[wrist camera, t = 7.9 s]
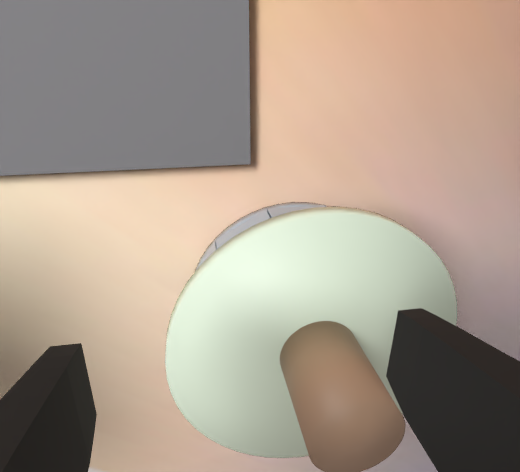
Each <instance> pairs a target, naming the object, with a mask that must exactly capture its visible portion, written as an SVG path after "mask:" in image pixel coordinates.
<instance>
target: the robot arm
mask: <svg viewBox="0 0 520 472" xmlns="http://www.w3.org/2000/svg"><path fill="white" fill-rule="evenodd" d="M386 377H387V379H388V382H389V384H390V386H391V388H392V391H393V393H394V395H395V398H396V400H397V402H398V404H399V406H400V408H401V410H402V412H403V415H404V416H405V418H406V420H407V422H408V423H409V425H410V427H411V428H412V430H413V432H414V433H415V435H416V436H417V438H418V440H419V441H420V443H421V445H422V446H423V448H424V450H425V451H426V453H427V454H428V456H429V458H430V459H431V461H432V463H433V464H434V466H435V467H436V469H437V471H438V472H520V362H519V361H518V360H516V359H514V358H512V357H510V356H508V355H507V354H505V353H503V352H501V351H499V350H498V349H496V348H494V347H492V346H490V345H489V344H487V343H485V342H483V341H482V340H480V339H478V338H476V337H474V336H473V335H471V334H469V333H467V332H466V331H464V330H462V329H460V328H459V327H457V326H455V325H453V324H451V323H450V322H448V321H446V320H444V319H442V318H440V317H438V316H437V315H435V314H433V313H431V312H429V311H427V310H424V309H422V308H418V309H408V310H398V314H397V320H396V325H395V330H394V336H393V341H392V347H391V352H390V357H389V363H388V368H387V374H386ZM95 422H96V410H95V405H94V401H93V396H92V391H91V387H90V382H89V377H88V373H87V368H86V364H85V359H84V354H83V350H82V345H81V343H80V344H71V345H61V346H51V347H49V349H48V350H47V351H46V352H45V353H44V354H43V355H42V356H41V357H40V358H39V359H38V360H37V361H36V362H35V363H34V364H33V365H32V366H31V367H30V368H29V370H28V371H27V372H26V373H25V374H24V375H23V376H22V377H21V378H20V379H19V380H18V381H17V383H16V384H15V385H14V386H13V387H12V388H11V389H10V390H9V391H8V392H7V393H6V394H5V395H4V396H3V398H2V399H1V400H0V472H88V468H89V464H90V458H91V451H92V445H93V438H94V430H95Z"/></svg>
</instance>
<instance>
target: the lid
mask: <svg viewBox="0 0 520 472" xmlns="http://www.w3.org/2000/svg"><path fill="white" fill-rule="evenodd" d="M418 308H422V309H424V310H427V311H429V312H431V313H433V314H435V315H437V316H438V317H440V318H442V319H444V320H446V321H448V322H450V323H451V324H453V325H455V326H456V322H457V300H456V295H455V290H454V286H453V283H452V280H451V278H450V275H449V272H448V271H447V269H446V267H445V266H444V264H443V262H442V261H441V259H440V258H439V257H438V256H437V254H436V253H435V252H434V251H433V250H432V249H431V247H429V246H428V245H427V244H426V243H425V242H423V241H422V240H421V239H420V238H419V237H417V236H416V235H415V234H414V233H412V232H411V231H410V230H408V229H407V228H406V227H404V226H402V225H401V224H399V223H397V222H395V221H394V220H392V219H390V218H387V217H385V216H382V215H379V214H377V213H374V212H370V211H366V210H361V209H357V208H347V207H314V208H308V209H303V210H297V211H292V212H289V213H285V214H282V215H279V216H275V217H272V218H270V219H267V220H265V221H263V222H260V223H258V224H256V225H254V226H251V227H250V228H248V229H246V230H245V231H243V232H241V233H239V234H238V235H236V236H234V237H233V238H231V239H230V240H229V241H227V242H226V243H225V244H223V245H222V246H221V247H219V248H218V249H217V250H216V251H214V252H213V253H212V254H211V255H210V256H209V257H208V258H207V259H206V260H205V261H204V262H203V263H202V264H201V265H200V266H199V268H198V269H197V270H196V271H195V273H194V274H193V275H192V277H191V278H190V279H189V280H188V282H187V283H186V285H185V287H184V289H183V290H182V292H181V294H180V295H179V297H178V299H177V302H176V304H175V307H174V309H173V312H172V314H171V318H170V322H169V326H168V330H167V341H166V358H165V364H166V374H167V381H168V384H169V388H170V391H171V394H172V396H173V398H174V400H175V402H176V405H177V407H178V408H179V410H180V411H181V412H182V414H183V415H184V417H185V418H186V419H187V420H188V421H189V422H190V423H191V424H192V425H193V426H194V427H195V428H196V429H197V430H198V431H199V432H201V433H202V434H203V435H205V436H206V437H207V438H209V439H211V440H212V441H214V442H216V443H218V444H220V445H222V446H224V447H227V448H229V449H232V450H234V451H237V452H241V453H245V454H249V455H254V456H261V457H269V458H293V457H304V456H309V457H310V459H311V461H312V463H313V464H314V465H315V466H316V467H317V468H319V469H321V470H322V471H325V472H361V471H363V470H366V469H369V468H371V467H373V466H375V465H377V464H379V463H380V462H382V461H383V460H385V459H386V458H387V457H388V456H390V455H391V454H392V453H393V452H394V451H395V449H396V448H397V447H398V445H399V444H400V442H401V441H402V438H403V436H404V432H405V420H404V417H403V416H402V414H403V412H402V410H401V408H400V406H399V404H398V402H397V400H396V398H395V395H394V393H393V391H392V388H391V386H390V384H389V382H388V379H387V377H386V374H387V368H388V363H389V357H390V352H391V347H392V341H393V336H394V330H395V325H396V320H397V314H398V310H408V309H418Z"/></svg>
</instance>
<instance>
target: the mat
mask: <svg viewBox="0 0 520 472" xmlns="http://www.w3.org/2000/svg"><path fill="white" fill-rule="evenodd" d="M243 164H251V159H250V61H249V0H0V176H4V175H26V174H48V173H70V172H91V171H113V170H135V169H156V168H178V167H200V166H222V165H243Z"/></svg>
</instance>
